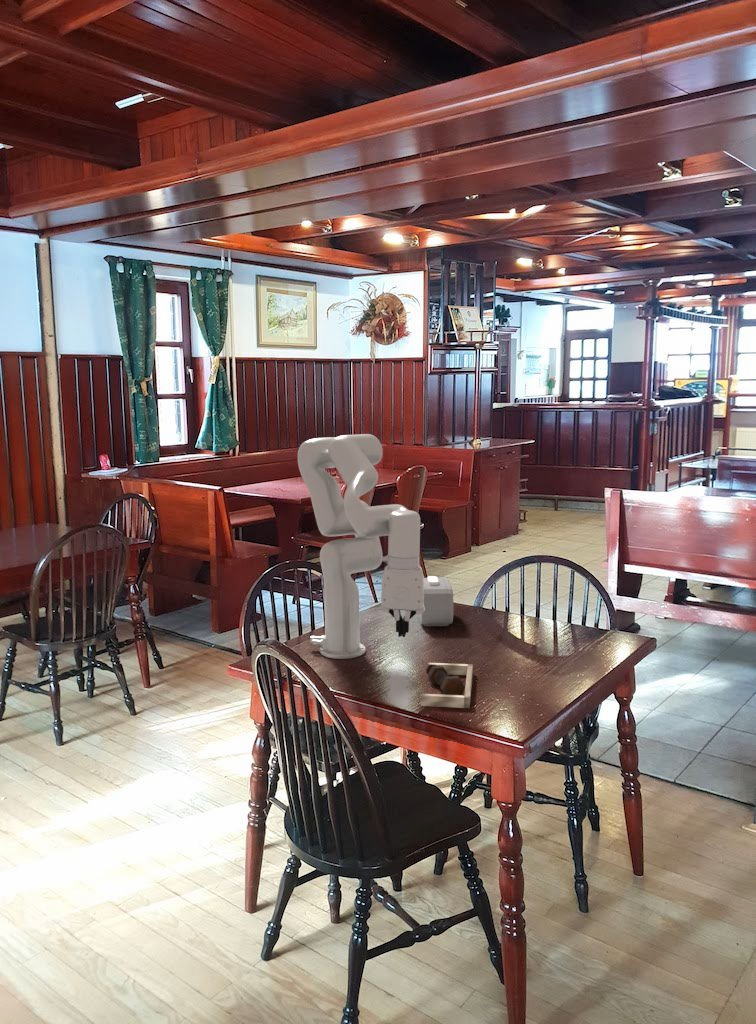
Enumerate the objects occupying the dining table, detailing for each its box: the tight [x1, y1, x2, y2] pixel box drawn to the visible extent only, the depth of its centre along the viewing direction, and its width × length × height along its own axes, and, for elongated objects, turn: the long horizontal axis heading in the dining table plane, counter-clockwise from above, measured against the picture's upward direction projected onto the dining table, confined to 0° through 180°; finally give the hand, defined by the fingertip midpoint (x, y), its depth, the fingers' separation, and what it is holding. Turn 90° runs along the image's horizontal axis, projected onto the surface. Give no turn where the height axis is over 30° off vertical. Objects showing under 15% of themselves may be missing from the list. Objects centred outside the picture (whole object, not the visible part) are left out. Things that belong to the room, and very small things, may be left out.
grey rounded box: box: [418, 575, 454, 627], centre depth 254 cm, size 21×10×13 cm, turn 1°
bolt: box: [425, 665, 466, 696], centre depth 200 cm, size 6×5×15 cm
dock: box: [420, 662, 474, 709], centre depth 198 cm, size 11×22×2 cm, turn 172°
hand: (402, 634), depth 199 cm, fingers closed
